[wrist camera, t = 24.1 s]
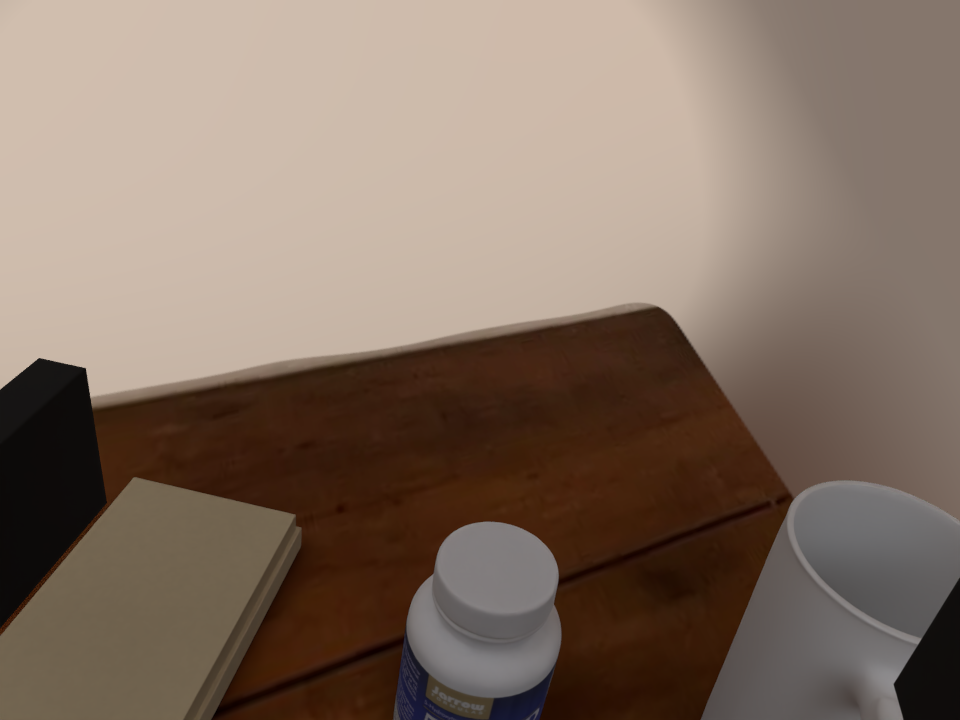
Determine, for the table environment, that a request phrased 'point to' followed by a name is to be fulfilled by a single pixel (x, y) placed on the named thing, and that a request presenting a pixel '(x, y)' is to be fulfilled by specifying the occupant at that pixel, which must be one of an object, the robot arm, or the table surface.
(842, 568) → the mug
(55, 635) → the beige stepped flat slab
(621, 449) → the table surface
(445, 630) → the pill bottle
